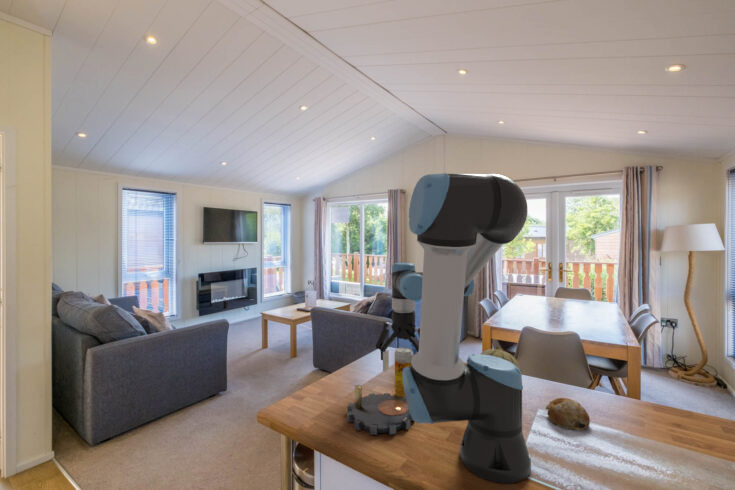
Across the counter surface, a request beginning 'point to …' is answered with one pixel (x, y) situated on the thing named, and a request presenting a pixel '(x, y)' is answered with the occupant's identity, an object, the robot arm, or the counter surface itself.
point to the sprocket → (379, 413)
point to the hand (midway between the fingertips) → (403, 374)
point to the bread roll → (568, 414)
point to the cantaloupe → (502, 356)
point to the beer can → (401, 368)
